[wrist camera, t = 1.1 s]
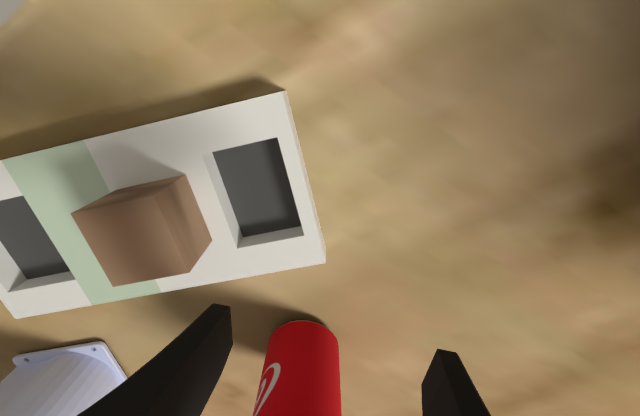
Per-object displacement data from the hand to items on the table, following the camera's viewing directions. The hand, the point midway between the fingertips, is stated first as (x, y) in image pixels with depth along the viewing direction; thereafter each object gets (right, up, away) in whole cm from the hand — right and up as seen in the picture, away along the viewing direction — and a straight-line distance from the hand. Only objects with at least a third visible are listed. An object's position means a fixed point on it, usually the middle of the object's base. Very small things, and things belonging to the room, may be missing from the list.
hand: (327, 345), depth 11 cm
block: (-11, +4, +11) cm, 16 cm away
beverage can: (-2, -7, +18) cm, 19 cm away
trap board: (-14, +4, +13) cm, 19 cm away
